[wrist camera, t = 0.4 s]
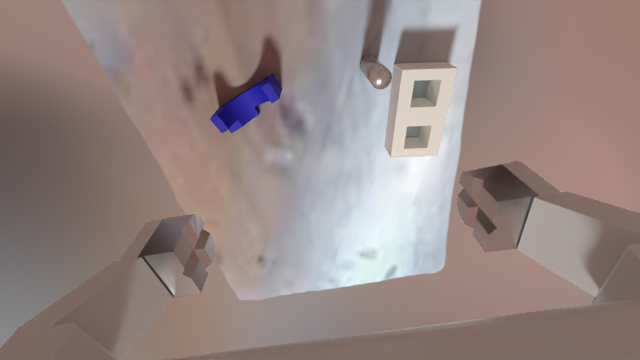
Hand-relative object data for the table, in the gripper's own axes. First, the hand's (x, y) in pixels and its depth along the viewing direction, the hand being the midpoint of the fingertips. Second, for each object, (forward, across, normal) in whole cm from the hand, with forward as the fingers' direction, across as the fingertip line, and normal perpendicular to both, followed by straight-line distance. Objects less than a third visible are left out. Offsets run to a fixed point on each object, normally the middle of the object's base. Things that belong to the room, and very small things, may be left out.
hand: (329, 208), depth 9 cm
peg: (+44, -9, +6) cm, 46 cm away
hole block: (+44, -17, +15) cm, 50 cm away
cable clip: (+45, +13, +9) cm, 47 cm away
